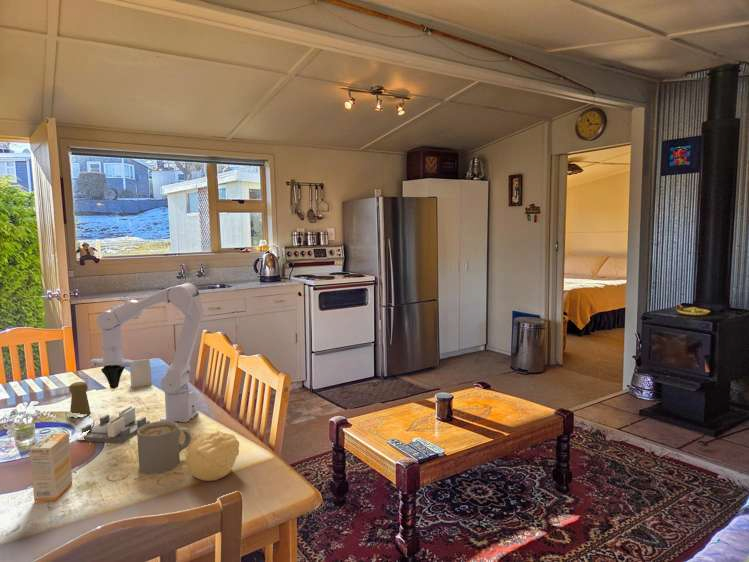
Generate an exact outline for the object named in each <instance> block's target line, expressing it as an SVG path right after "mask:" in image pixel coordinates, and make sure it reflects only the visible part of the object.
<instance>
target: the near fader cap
mask: <svg viewBox="0 0 749 562" xmlns="http://www.w3.org/2000/svg"><path fill="white" fill-rule="evenodd" d="M124 428H125V418H124V417H121V416H120V417H119V416H117V417H116V418H114V420H112V421H111V422H109V423H107V429H108V437H115V436H117V435H118V434H120V431H121V430H123V429H124Z"/></svg>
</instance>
